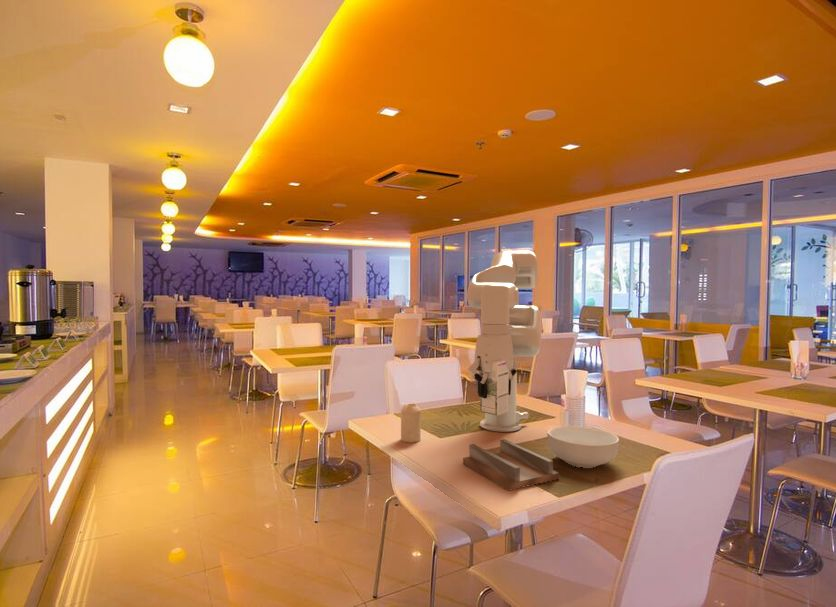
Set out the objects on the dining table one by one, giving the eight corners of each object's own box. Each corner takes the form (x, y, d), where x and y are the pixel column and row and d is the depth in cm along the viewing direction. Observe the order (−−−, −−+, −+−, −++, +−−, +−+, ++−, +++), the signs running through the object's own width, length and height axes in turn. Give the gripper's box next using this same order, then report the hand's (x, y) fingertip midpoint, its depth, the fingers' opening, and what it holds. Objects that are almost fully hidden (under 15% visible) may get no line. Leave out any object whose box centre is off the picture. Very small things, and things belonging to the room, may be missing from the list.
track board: (509, 455, 128) (509, 438, 128) (558, 479, 112) (559, 459, 112) (463, 463, 122) (463, 445, 122) (508, 490, 106) (508, 469, 106)
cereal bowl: (634, 471, 117) (634, 441, 117) (572, 478, 113) (573, 447, 113) (589, 449, 134) (590, 423, 134) (534, 454, 129) (534, 427, 129)
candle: (418, 443, 138) (418, 407, 137) (398, 442, 139) (399, 406, 138) (422, 437, 143) (422, 403, 143) (403, 436, 144) (403, 402, 144)
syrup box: (509, 411, 135) (509, 358, 134) (496, 416, 131) (497, 361, 130) (491, 407, 139) (492, 356, 138) (479, 412, 135) (479, 358, 134)
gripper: (512, 326, 141) (511, 389, 142) (459, 330, 133) (459, 396, 134) (529, 329, 134) (528, 394, 135) (475, 333, 126) (475, 402, 127)
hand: (494, 395), depth 135 cm, fingers closed on syrup box, 7 cm apart
